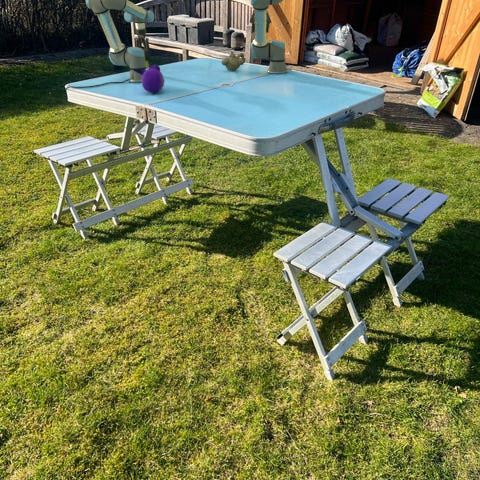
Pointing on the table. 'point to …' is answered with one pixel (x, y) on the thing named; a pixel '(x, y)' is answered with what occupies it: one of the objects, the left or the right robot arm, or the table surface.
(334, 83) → the table surface
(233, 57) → the teapot
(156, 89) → the toy
